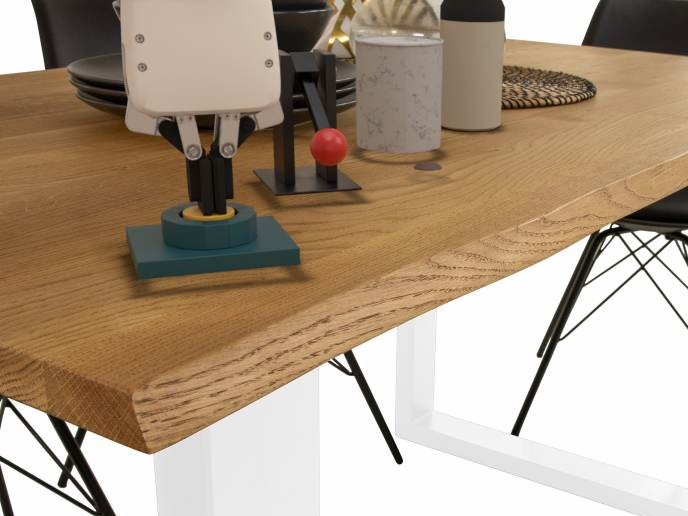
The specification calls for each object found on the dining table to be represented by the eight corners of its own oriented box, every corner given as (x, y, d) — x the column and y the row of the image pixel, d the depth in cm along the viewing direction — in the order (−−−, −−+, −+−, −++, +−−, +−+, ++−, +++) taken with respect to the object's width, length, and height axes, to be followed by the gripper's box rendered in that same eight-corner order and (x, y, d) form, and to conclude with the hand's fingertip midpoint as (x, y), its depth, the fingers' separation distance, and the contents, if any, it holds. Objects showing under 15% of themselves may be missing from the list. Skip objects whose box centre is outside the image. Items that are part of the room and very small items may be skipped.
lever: (349, 172, 86) (354, 144, 84) (312, 174, 85) (317, 146, 83) (314, 76, 94) (318, 47, 91) (280, 77, 93) (283, 48, 90)
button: (188, 243, 70) (186, 218, 70) (181, 229, 73) (179, 206, 73) (239, 238, 72) (238, 214, 71) (230, 225, 75) (229, 202, 74)
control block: (139, 293, 67) (134, 236, 66) (127, 254, 75) (123, 203, 74) (300, 277, 71) (299, 222, 70) (273, 242, 79) (271, 192, 78)
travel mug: (464, 134, 123) (469, -20, 117) (425, 124, 129) (427, -23, 123) (513, 128, 128) (519, -21, 122) (473, 118, 134) (477, -24, 127)
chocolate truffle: (438, 173, 103) (438, 158, 103) (445, 180, 100) (446, 164, 100) (409, 174, 102) (409, 159, 102) (416, 181, 100) (417, 165, 99)
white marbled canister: (449, 161, 109) (451, 44, 104) (361, 162, 107) (360, 44, 103) (432, 143, 117) (434, 35, 113) (350, 144, 116) (349, 34, 111)
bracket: (362, 200, 92) (361, 57, 88) (275, 206, 89) (270, 59, 85) (333, 176, 101) (330, 45, 96) (253, 181, 98) (247, 46, 94)
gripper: (293, -62, 72) (301, 190, 78) (69, -65, 66) (98, 206, 73) (320, -60, 65) (327, 215, 71) (74, -63, 60) (106, 234, 66)
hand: (212, 209), depth 72 cm, fingers closed
